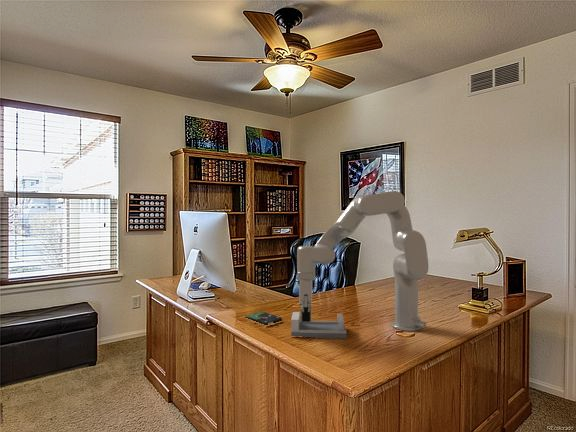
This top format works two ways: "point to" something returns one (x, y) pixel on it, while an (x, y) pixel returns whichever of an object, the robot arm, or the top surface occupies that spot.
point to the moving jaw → (340, 322)
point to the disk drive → (264, 318)
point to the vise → (315, 328)
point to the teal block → (309, 311)
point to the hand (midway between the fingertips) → (306, 318)
